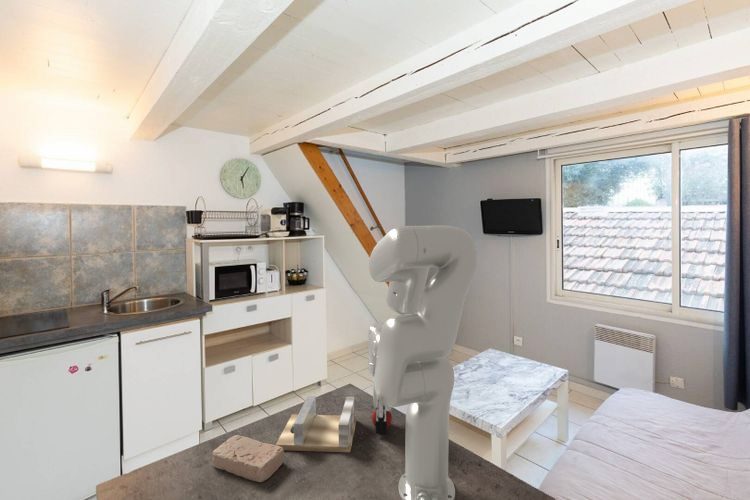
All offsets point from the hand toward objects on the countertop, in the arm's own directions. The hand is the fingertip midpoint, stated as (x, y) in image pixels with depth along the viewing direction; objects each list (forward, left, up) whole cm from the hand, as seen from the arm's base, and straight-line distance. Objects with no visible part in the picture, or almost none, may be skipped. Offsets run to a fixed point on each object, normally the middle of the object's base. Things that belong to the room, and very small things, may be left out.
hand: (381, 426), depth 103 cm
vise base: (-3, +18, -1) cm, 18 cm away
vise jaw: (-3, +22, 0) cm, 23 cm away
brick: (-17, +33, -2) cm, 37 cm away
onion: (0, 0, -1) cm, 1 cm away
